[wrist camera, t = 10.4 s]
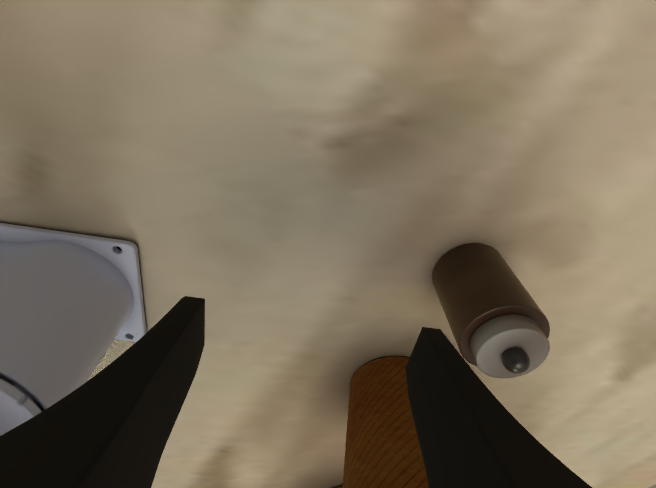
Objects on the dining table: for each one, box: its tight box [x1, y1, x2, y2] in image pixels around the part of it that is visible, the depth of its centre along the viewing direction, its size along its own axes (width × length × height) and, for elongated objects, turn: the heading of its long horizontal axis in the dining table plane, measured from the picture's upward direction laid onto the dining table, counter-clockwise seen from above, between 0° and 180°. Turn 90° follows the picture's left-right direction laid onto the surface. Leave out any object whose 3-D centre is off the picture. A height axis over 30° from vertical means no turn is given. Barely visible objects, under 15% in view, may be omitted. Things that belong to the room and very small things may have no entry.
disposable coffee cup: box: [343, 356, 429, 488], centre depth 24 cm, size 10×10×12 cm
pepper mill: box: [432, 244, 550, 378], centre depth 20 cm, size 4×4×8 cm
